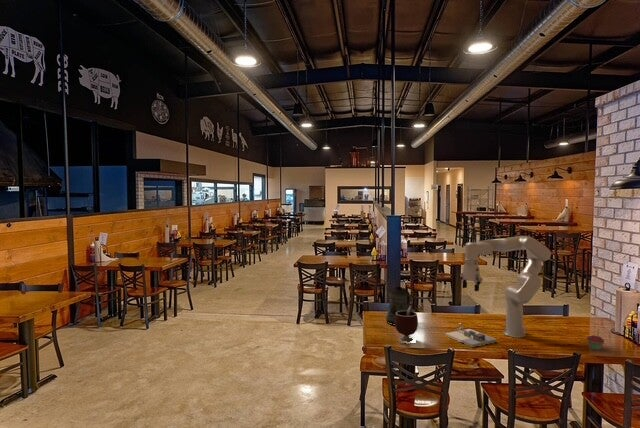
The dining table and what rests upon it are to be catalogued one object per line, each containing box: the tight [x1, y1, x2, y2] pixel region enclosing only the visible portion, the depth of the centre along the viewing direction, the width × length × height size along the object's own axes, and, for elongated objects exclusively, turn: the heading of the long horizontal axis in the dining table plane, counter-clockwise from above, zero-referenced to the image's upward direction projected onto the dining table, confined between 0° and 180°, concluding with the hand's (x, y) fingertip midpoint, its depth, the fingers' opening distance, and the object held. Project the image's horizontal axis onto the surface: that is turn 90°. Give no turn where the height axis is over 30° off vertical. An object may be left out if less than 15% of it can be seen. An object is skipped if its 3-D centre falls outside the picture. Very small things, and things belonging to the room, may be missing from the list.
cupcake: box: [586, 328, 605, 351], centre depth 231 cm, size 9×8×12 cm
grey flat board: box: [445, 328, 498, 348], centre depth 249 cm, size 22×20×5 cm
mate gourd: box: [394, 305, 419, 342], centre depth 249 cm, size 16×14×20 cm
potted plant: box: [385, 286, 412, 324], centre depth 286 cm, size 16×19×25 cm
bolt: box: [455, 322, 470, 334], centre depth 255 cm, size 10×2×6 cm, turn 24°
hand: (470, 289), depth 252 cm, fingers open, 9 cm apart
